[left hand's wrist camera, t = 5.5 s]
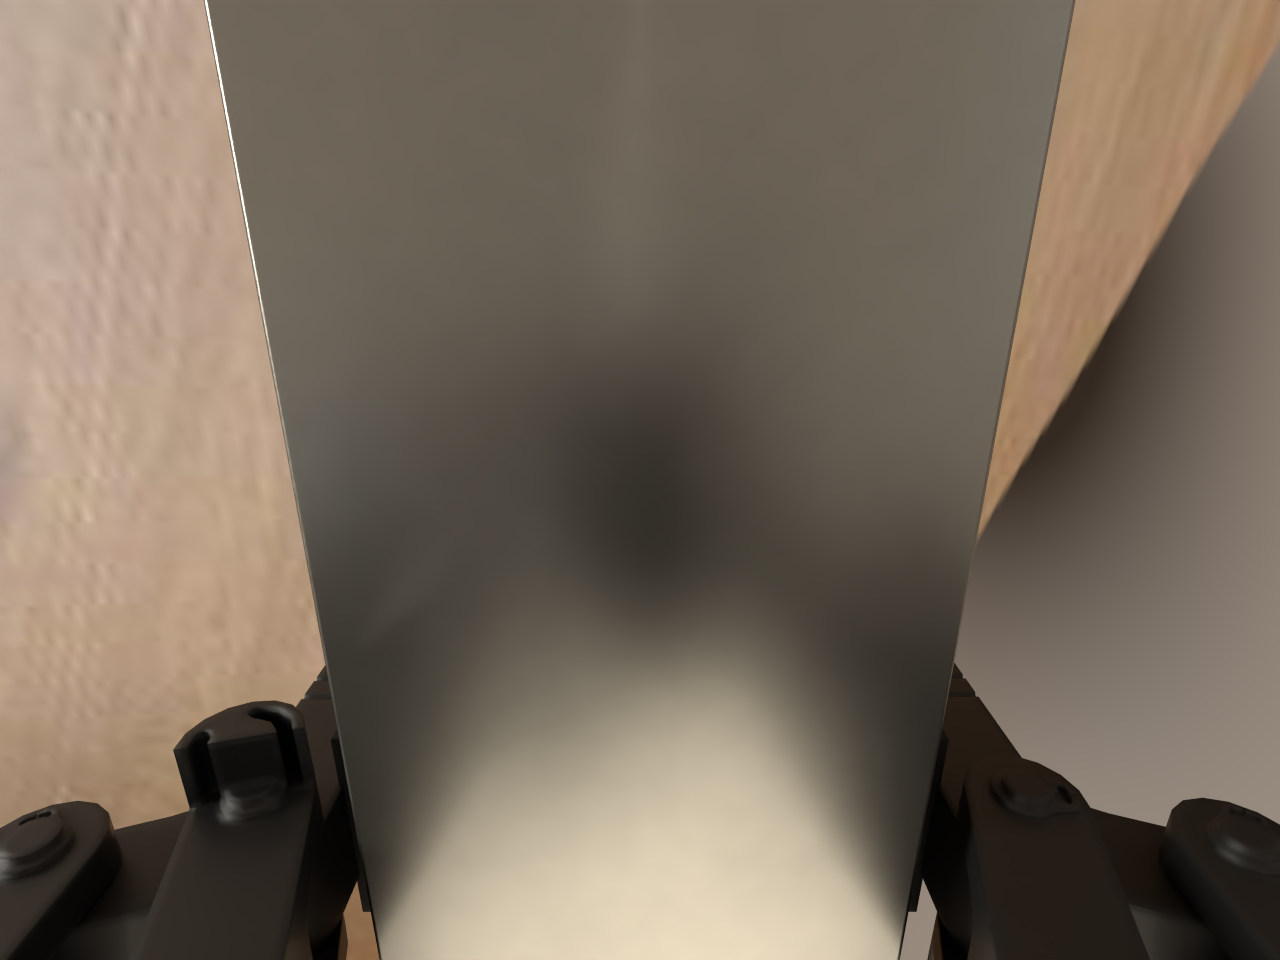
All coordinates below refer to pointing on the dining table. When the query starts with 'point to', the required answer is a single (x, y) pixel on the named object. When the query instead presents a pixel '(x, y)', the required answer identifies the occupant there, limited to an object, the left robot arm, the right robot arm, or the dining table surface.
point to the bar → (639, 439)
